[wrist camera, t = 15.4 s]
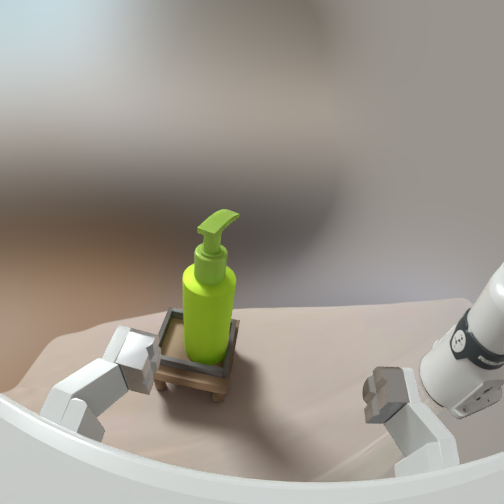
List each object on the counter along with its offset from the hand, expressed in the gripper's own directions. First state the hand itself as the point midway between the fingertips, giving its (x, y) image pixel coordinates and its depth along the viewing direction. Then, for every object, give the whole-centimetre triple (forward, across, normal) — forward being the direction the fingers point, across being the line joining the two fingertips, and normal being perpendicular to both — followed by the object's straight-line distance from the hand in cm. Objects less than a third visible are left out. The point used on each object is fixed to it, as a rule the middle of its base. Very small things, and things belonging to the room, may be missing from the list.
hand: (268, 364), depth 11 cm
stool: (+19, -7, -32) cm, 38 cm away
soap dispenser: (+19, -5, -26) cm, 33 cm away
